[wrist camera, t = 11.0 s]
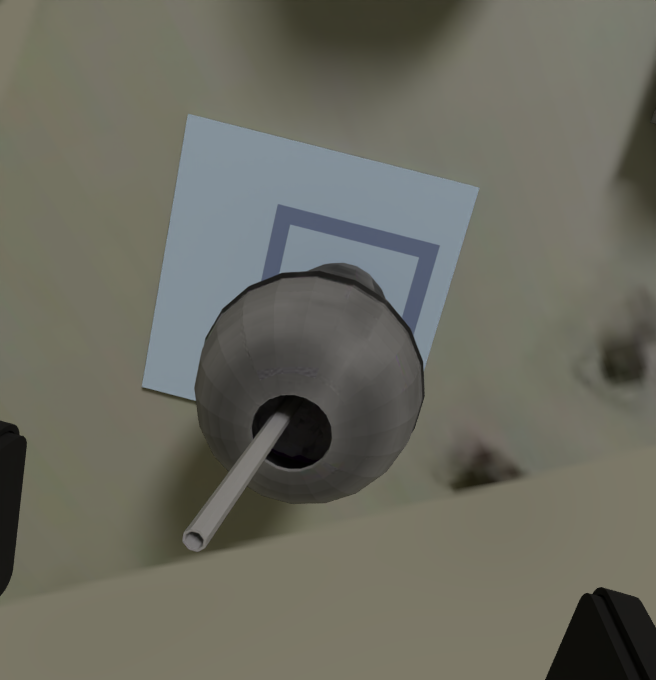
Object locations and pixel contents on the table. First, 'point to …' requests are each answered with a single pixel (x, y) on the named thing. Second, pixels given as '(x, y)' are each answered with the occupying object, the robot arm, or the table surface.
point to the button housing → (654, 118)
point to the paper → (294, 235)
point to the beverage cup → (305, 390)
